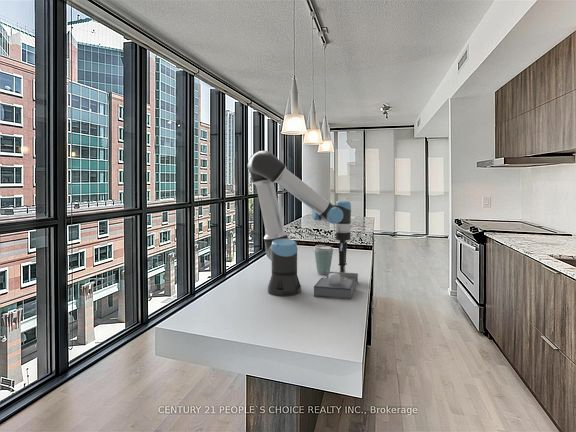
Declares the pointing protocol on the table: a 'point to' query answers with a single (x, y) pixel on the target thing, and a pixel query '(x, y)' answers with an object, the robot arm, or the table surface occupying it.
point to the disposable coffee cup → (323, 258)
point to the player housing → (334, 287)
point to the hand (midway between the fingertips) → (342, 277)
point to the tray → (346, 275)
